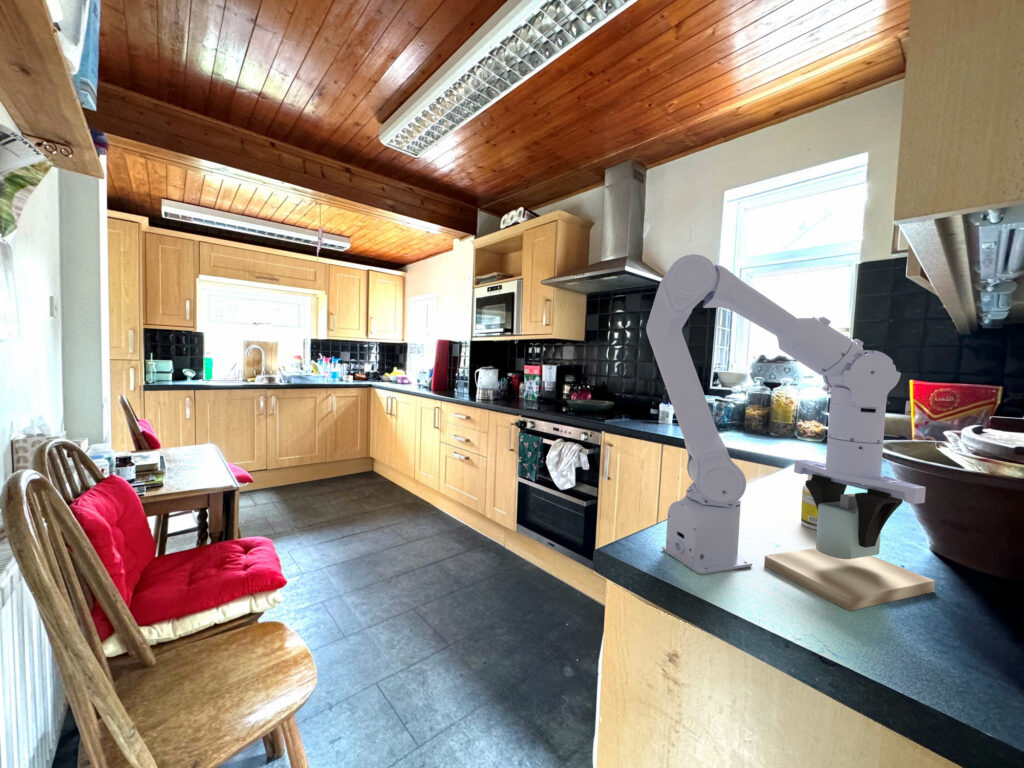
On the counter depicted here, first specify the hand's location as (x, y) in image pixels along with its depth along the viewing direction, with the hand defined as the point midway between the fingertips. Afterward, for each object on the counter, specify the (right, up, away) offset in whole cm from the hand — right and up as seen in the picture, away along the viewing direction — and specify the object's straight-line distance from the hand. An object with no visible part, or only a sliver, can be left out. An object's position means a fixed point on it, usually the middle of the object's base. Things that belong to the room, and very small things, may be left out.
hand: (847, 538), depth 54 cm
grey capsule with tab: (0, -2, 0) cm, 2 cm away
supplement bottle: (+11, -5, +19) cm, 22 cm away
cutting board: (0, -6, 0) cm, 6 cm away
